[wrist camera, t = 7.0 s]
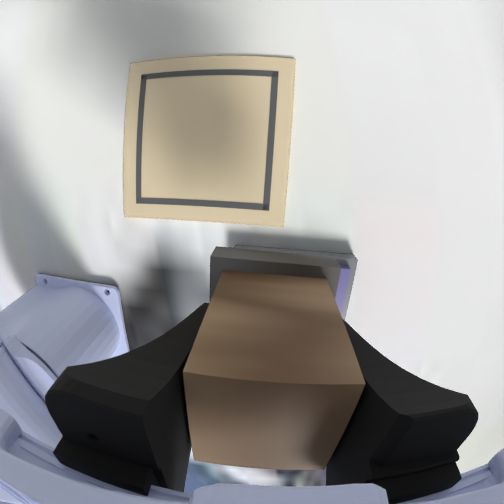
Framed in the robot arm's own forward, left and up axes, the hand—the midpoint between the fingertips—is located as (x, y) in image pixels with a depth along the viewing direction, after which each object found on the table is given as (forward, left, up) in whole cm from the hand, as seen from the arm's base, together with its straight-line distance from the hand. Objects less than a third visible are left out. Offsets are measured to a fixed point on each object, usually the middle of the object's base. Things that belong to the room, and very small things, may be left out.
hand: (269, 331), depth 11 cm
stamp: (0, 0, -2) cm, 2 cm away
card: (-5, +8, -9) cm, 13 cm away
